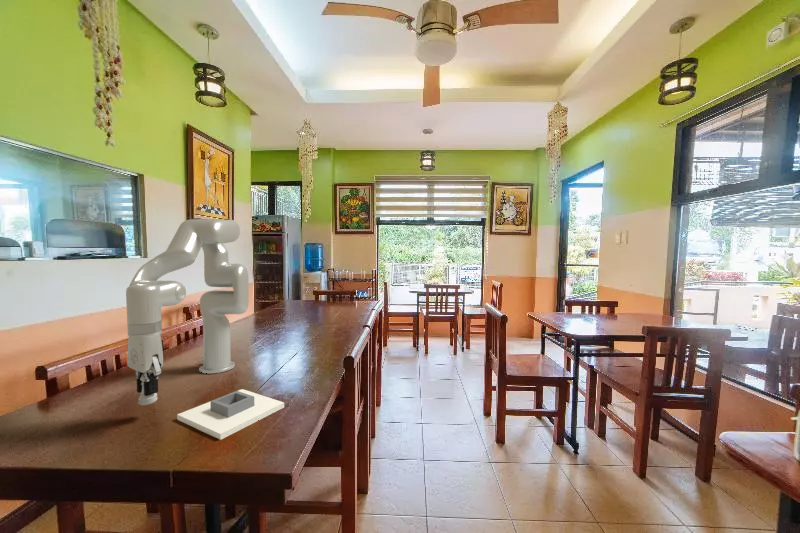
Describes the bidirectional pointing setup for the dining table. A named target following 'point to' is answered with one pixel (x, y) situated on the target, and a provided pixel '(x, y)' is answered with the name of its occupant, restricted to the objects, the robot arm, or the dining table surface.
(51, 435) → the dining table surface
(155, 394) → the rook chess piece
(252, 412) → the socket board
